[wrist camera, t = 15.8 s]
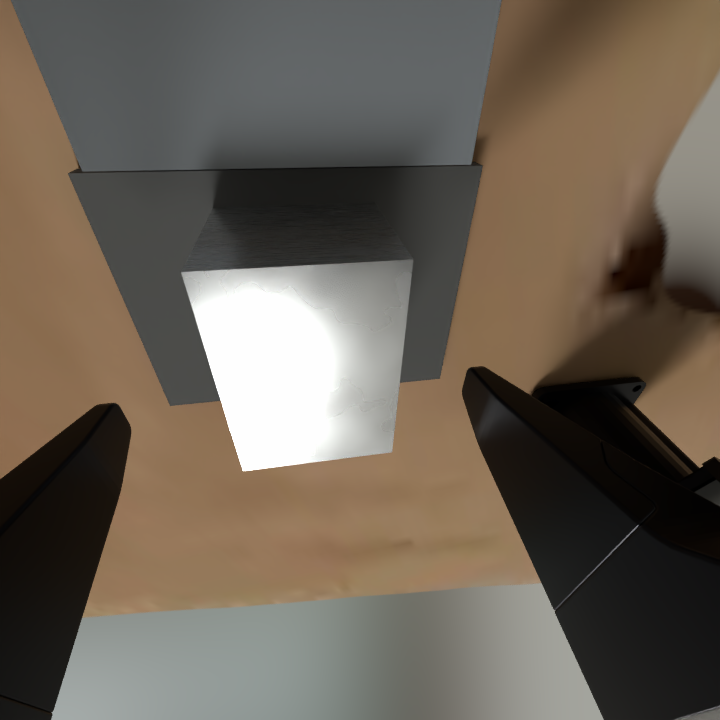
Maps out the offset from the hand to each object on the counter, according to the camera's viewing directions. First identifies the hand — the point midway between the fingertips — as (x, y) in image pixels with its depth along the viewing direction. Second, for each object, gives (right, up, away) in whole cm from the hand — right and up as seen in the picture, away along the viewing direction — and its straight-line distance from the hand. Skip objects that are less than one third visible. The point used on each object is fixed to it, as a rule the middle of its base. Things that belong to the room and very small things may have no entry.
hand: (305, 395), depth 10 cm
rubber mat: (-1, +3, +4) cm, 6 cm away
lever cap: (-1, +3, +4) cm, 5 cm away
